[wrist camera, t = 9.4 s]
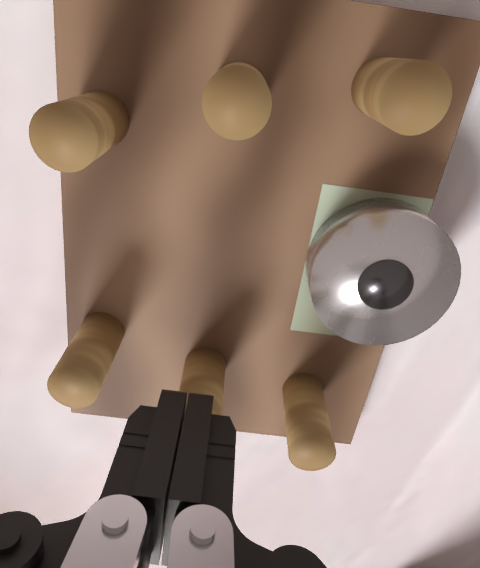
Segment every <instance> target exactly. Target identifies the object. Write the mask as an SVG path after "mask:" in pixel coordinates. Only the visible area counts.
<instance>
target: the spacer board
mask: <svg viewBox="0 0 480 568" xmlns="http://www.w3.org/2000/svg"><path fill="white" fill-rule="evenodd" d="M53 5H54V28H55V51H56V74H57V97H58V102H54V103H51V104H48V105H45V106H43V107H41V108H40V109H39V110H37V112H36V113H35V114H34V115H33V117H32V119H31V122H30V126H29V138H30V142H31V145H32V147H33V149H34V151H35V153H36V154H37V156H38V157H39V158H40V159H41V160H42V161H43V162H44V163H45V164H46V165H48V166H49V167H51V168H53V169H55V170H57V171H61V189H62V212H63V235H64V258H65V281H66V304H67V327H68V347H67V349H66V350H65V352H64V354H63V355H62V357H61V359H60V360H59V362H58V364H57V365H56V367H55V369H54V370H53V372H52V374H51V375H50V377H49V379H48V382H47V387H48V391H49V393H50V394H51V396H52V397H53V398H54V399H55V400H56V401H57V402H59V403H61V404H63V405H65V406H68V407H71V412H73V413H82V414H91V415H99V416H108V417H117V418H126V419H128V418H129V416H130V415H131V414H132V413H133V412H134V411H135V410H136V409H137V408H138V407H139V406H140V405H144V406H152V407H157V405H158V401H159V398H160V394H161V391H162V389H165V390H173V391H181V392H187V401H188V396H189V393H197V394H205V395H212V396H214V398H213V406H212V414H215V415H223V416H230V418H231V421H232V423H233V425H234V427H235V429H236V431H240V432H249V433H257V434H266V435H275V436H284V437H287V444H288V455H289V459H290V461H291V463H292V464H293V465H294V466H296V467H297V468H299V469H302V470H306V471H316V470H320V469H323V468H325V467H327V466H329V465H330V464H331V463H332V462H333V461H334V459H335V456H336V449H335V445H334V442H336V443H345V444H351V441H352V439H353V436H354V433H355V430H356V427H357V424H358V421H359V418H360V415H361V412H362V409H363V406H364V403H365V400H366V397H367V395H368V392H369V389H370V386H371V383H372V380H373V377H374V374H375V371H376V368H377V365H378V362H379V359H380V356H381V353H382V351H383V348H384V345H364V344H358V343H354V342H351V341H348V340H346V339H344V338H342V337H340V336H338V335H336V334H335V333H334V332H332V331H331V330H330V329H329V328H328V327H327V326H326V325H325V324H324V323H323V322H322V321H321V319H320V318H319V316H318V315H317V313H316V311H315V308H314V305H313V302H312V299H311V295H310V290H309V286H308V282H307V278H306V271H305V263H306V255H307V251H308V248H309V246H310V243H311V241H312V239H313V237H314V235H315V234H316V232H317V231H318V230H319V228H320V227H321V226H322V225H323V224H324V223H325V221H326V220H327V219H329V218H330V217H331V216H332V215H333V214H335V213H336V212H338V211H339V210H341V209H342V208H344V207H346V206H348V205H351V204H353V203H356V202H359V201H362V200H367V199H372V198H391V199H397V200H401V201H404V202H407V203H410V204H412V205H414V206H416V207H417V208H419V209H420V210H421V211H423V212H424V213H425V214H426V215H427V216H429V213H430V210H431V207H432V204H433V201H434V198H435V195H436V192H437V189H438V186H439V183H440V180H441V177H442V175H443V172H444V169H445V166H446V163H447V160H448V157H449V154H450V151H451V148H452V145H453V142H454V139H455V136H456V133H457V131H458V128H459V125H460V122H461V119H462V116H463V113H464V110H465V107H466V104H467V101H468V98H469V95H470V92H471V89H472V87H473V84H474V81H475V78H476V75H477V72H478V69H479V66H480V21H476V20H470V19H464V18H458V17H451V16H445V15H439V14H433V13H426V12H420V11H414V10H408V9H402V8H395V7H389V6H383V5H377V4H370V3H364V2H358V1H352V0H53ZM187 401H186V406H187ZM185 411H186V410H185Z"/></svg>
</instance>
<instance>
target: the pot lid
mask: <svg viewBox="0 0 480 568" xmlns="http://www.w3.org/2000/svg"><path fill="white" fill-rule="evenodd" d="M305 271H306V278H307V282H308V286H309V290H310V295H311V299H312V302H313V305H314V308H315V311H316V313H317V315H318V316H319V318H320V319H321V321H322V322H323V323H324V324H325V325H326V326H327V327H328V328H329V329H330V330H331V331H332V332H334V333H335V334H336V335H338V336H340V337H342V338H344V339H346V340H348V341H351V342H354V343H358V344H364V345H388V344H394V343H398V342H402V341H405V340H407V339H410V338H413V337H415V336H417V335H418V334H420V333H422V332H424V331H425V330H427V329H428V328H430V327H431V326H432V325H433V324H435V323H436V322H437V321H438V320H439V319H440V318H441V317H442V316H443V315H444V313H445V312H446V311H447V310H448V308H449V307H450V305H451V303H452V302H453V300H454V298H455V296H456V293H457V291H458V287H459V284H460V277H461V264H460V258H459V255H458V252H457V249H456V247H455V245H454V243H453V241H452V240H451V239H450V238H449V236H448V235H447V234H446V233H445V232H444V231H443V230H442V229H441V228H440V227H439V226H438V225H437V224H436V223H435V222H433V221H432V220H431V219H430V218H429V217H428V216H427V215H426V214H425V213H424V212H423V211H421V210H420V209H419V208H417V207H416V206H414V205H412V204H410V203H407V202H404V201H401V200H397V199H391V198H372V199H367V200H362V201H359V202H356V203H353V204H351V205H348V206H346V207H344V208H342V209H341V210H339V211H338V212H336V213H335V214H333V215H332V216H331V217H330V218H329V219H327V220H326V221H325V223H324V224H323V225H322V226H321V227H320V228H319V230H318V231H317V232H316V234H315V235H314V237H313V239H312V241H311V243H310V246H309V248H308V251H307V255H306V263H305Z"/></svg>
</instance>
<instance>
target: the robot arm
mask: <svg viewBox="0 0 480 568" xmlns="http://www.w3.org/2000/svg"><path fill="white" fill-rule="evenodd" d="M213 398H214V396H212V395H205V394H197V393H189V396H188V401H187V392H181V391H173V390H165V389H162V391H161V394H160V398H159V401H158V405H157V407H152V406H144V405H140V406H139V407H138V408H137V409H136V410H135V411H134V412H133V413H132V414H131V415H130V416H129V418H128V420H127V423H126V426H125V429H124V432H123V435H122V437H121V440H120V443H119V447H118V449H117V452H116V454H115V457H114V460H113V463H112V466H111V469H110V471H109V474H108V477H107V480H106V483H105V486H104V488H103V491H102V494H101V496H100V498H99V500H98V501H97V502H95V503H94V504H93V505H92V506H91V507H90V508H89V509H88V511H87V512H86V513H84V514H83V515H81V516H79V517H77V518H74V519H72V520H68V521H64V522H59V523H53V524H48V525H42V526H41V523H40V522H39V520H38V519H37V518H36V517H35V516H33V515H31V514H29V513H26V512H21V511H13V512H7V513H3V514H0V568H149V564H155V565H159V560H160V555H161V549H162V544H163V539H164V544H163V554H162V564H161V565H165V566H167V568H327V567H326V566H325V565H324V564H323V563H322V562H321V560H320V559H319V558H318V557H317V556H316V555H315V554H313V553H312V552H311V551H309V550H307V549H306V548H303V547H301V546H296V545H285V546H282V547H279V548H277V549H275V550H274V551H270V550H268V549H266V548H264V547H262V546H260V545H258V544H256V543H254V542H252V541H250V540H249V539H248V538H246V537H245V536H244V535H243V534H242V533H241V532H240V530H239V529H238V527H237V526H236V524H235V521H234V519H233V514H232V503H233V483H234V464H235V462H234V460H235V444H236V429H235V427H234V425H233V423H232V421H231V418H230V416H223V415H215V414H212V406H213ZM186 401H187V406H186ZM185 410H186V411H185Z"/></svg>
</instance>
